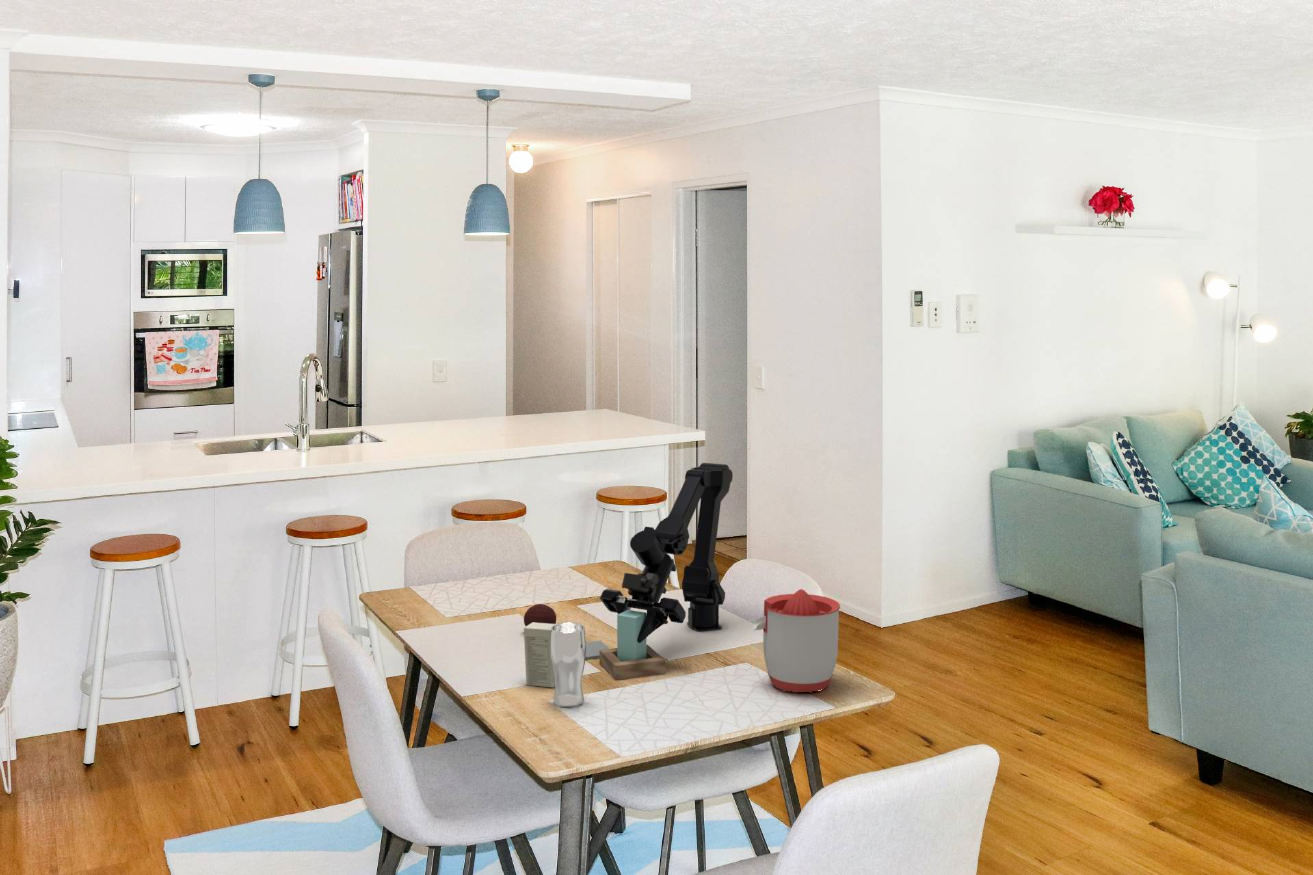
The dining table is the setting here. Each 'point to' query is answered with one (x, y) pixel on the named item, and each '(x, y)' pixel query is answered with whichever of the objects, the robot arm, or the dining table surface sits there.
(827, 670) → the citrus juicer
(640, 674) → the walnut pocket
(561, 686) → the beer glass
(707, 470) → the robot arm
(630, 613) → the teal block
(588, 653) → the slate coaster
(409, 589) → the dining table surface
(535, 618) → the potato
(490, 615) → the dining table surface
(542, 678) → the skincare box
